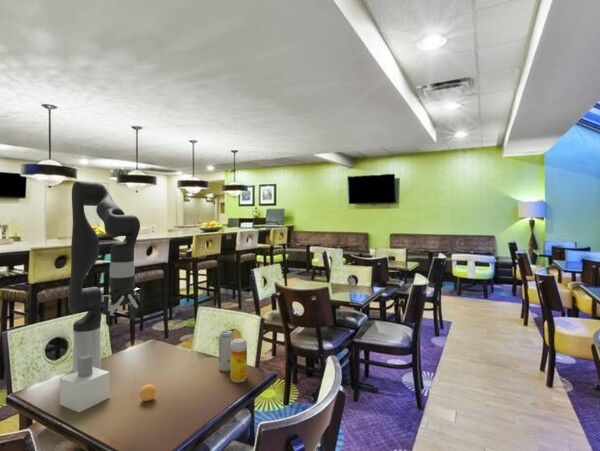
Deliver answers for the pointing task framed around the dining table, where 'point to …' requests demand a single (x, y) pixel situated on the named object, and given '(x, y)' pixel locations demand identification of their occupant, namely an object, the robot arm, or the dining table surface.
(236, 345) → the yellow white cylinder
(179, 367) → the dining table surface
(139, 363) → the dining table surface
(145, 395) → the ball
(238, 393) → the dining table surface
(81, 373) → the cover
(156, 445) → the dining table surface
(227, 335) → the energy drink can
